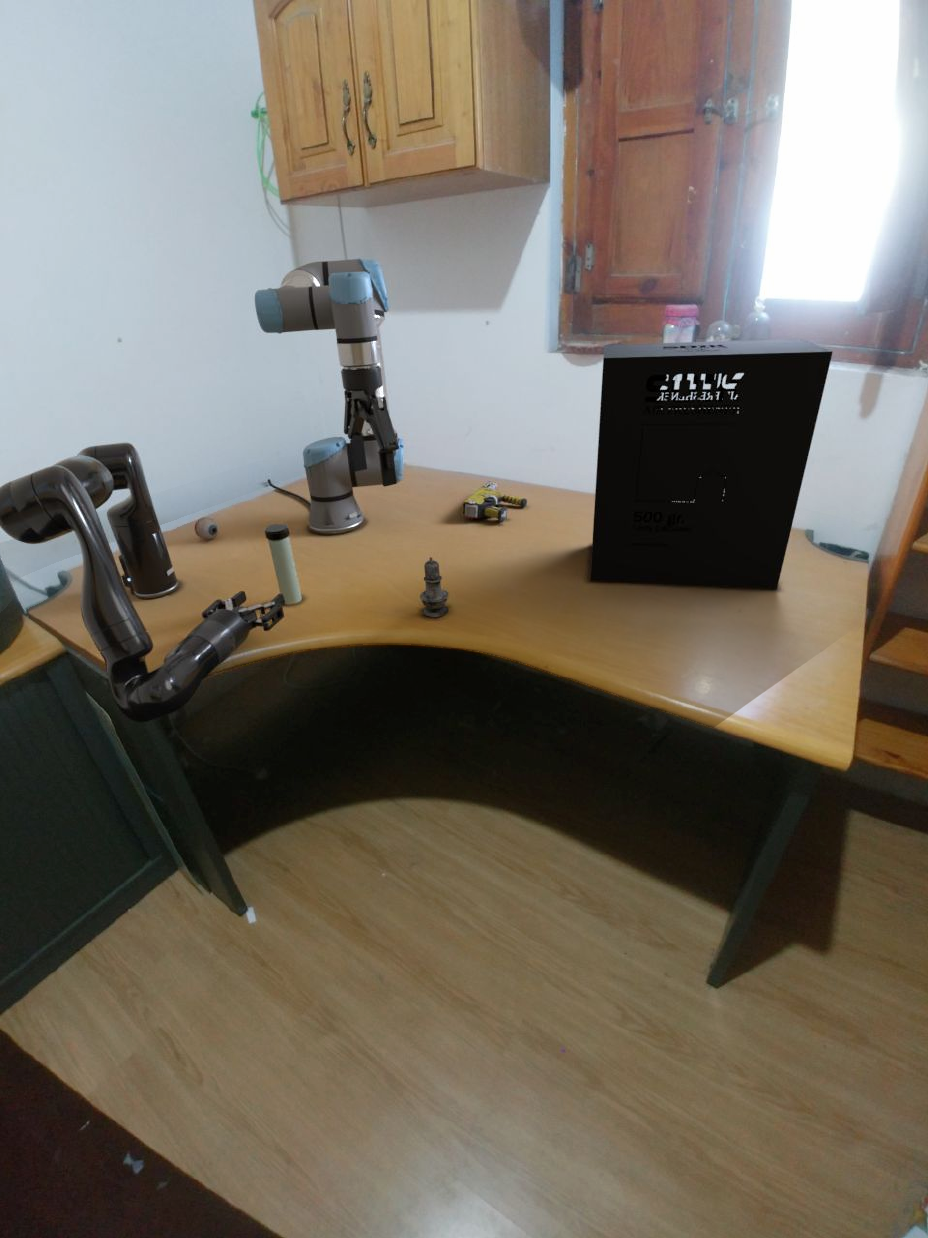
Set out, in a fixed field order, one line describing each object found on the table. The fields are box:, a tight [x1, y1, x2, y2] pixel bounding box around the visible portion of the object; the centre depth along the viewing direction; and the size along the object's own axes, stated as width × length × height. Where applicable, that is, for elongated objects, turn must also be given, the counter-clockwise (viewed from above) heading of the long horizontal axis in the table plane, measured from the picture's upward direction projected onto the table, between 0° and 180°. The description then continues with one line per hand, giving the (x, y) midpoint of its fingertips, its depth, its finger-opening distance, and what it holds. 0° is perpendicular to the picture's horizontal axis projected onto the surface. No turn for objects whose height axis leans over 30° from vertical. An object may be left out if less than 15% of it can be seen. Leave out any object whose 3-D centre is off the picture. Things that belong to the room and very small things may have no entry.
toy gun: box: [461, 480, 528, 523], centre depth 173 cm, size 5×24×15 cm
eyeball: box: [194, 516, 220, 541], centre depth 163 cm, size 6×6×6 cm
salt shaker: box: [419, 556, 450, 618], centre depth 120 cm, size 6×6×12 cm
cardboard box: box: [589, 338, 834, 590], centre depth 125 cm, size 38×20×45 cm, turn 78°
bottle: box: [267, 535, 303, 606], centre depth 127 cm, size 4×4×16 cm
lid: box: [264, 523, 290, 541], centre depth 123 cm, size 5×5×2 cm
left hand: (263, 596), depth 120 cm, fingers open, 8 cm apart
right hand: (374, 477), depth 124 cm, fingers open, 13 cm apart
